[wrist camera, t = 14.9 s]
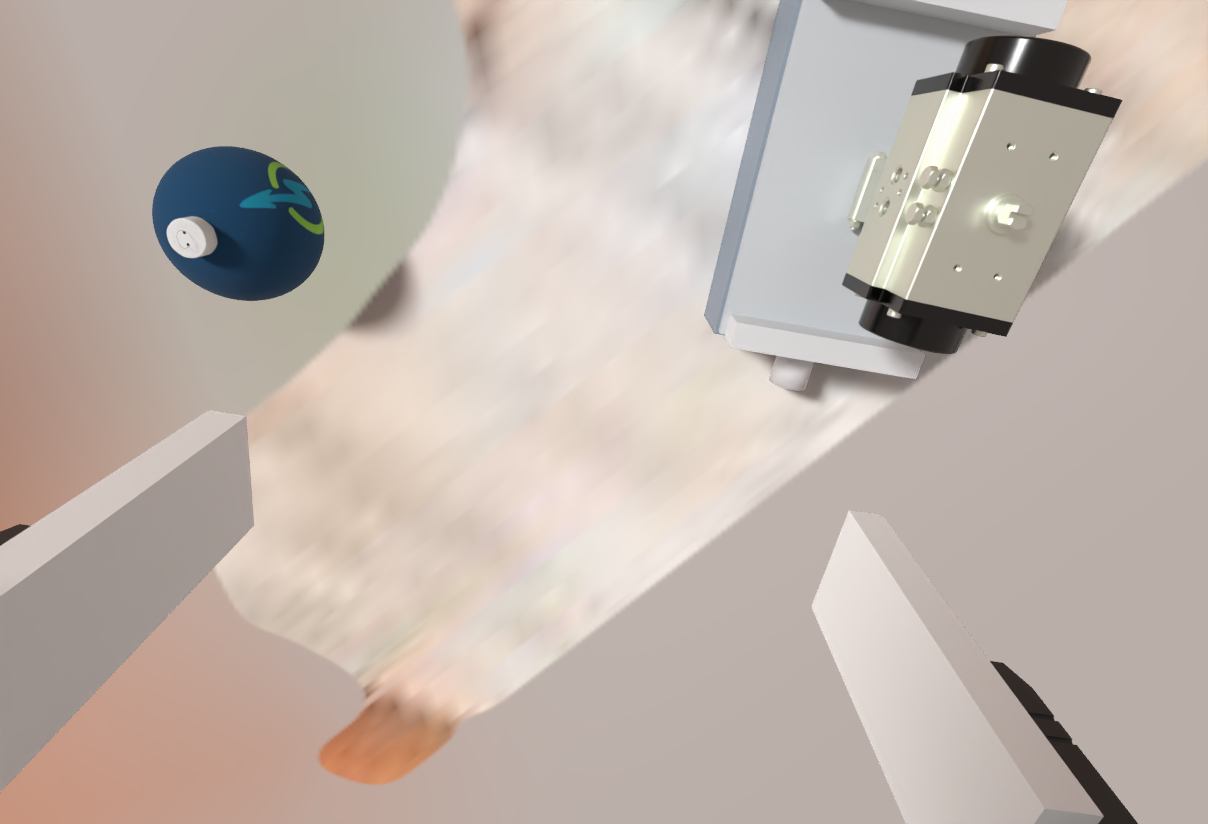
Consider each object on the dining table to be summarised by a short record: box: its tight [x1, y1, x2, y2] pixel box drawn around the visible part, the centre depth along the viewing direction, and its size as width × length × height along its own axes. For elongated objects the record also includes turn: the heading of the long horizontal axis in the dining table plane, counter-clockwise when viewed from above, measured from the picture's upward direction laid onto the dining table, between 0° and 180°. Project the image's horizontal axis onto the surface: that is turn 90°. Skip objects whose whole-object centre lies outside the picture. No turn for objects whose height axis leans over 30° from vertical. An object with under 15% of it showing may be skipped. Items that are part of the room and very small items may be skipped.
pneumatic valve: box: [842, 36, 1122, 354], centre depth 27 cm, size 6×12×12 cm, turn 168°
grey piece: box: [704, 0, 1068, 391], centre depth 35 cm, size 22×12×7 cm, turn 170°
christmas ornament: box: [152, 146, 324, 301], centre depth 34 cm, size 8×8×10 cm
